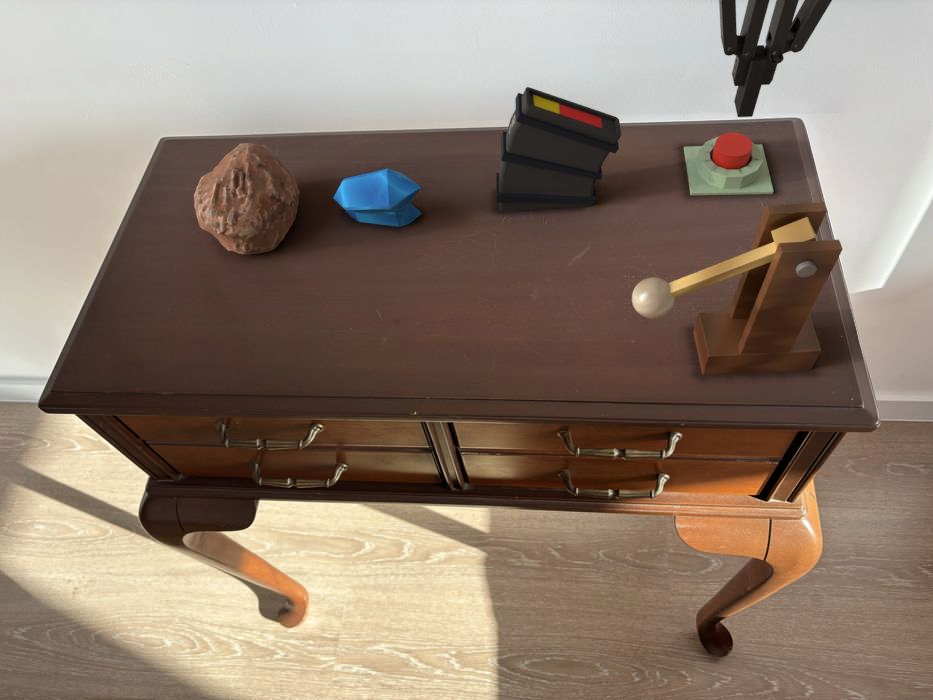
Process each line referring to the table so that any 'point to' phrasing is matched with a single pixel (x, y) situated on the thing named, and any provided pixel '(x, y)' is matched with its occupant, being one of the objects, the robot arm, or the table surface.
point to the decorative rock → (247, 200)
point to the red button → (732, 151)
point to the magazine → (553, 153)
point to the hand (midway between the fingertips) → (743, 108)
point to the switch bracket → (771, 303)
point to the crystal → (379, 198)
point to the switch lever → (713, 272)
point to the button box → (726, 173)
